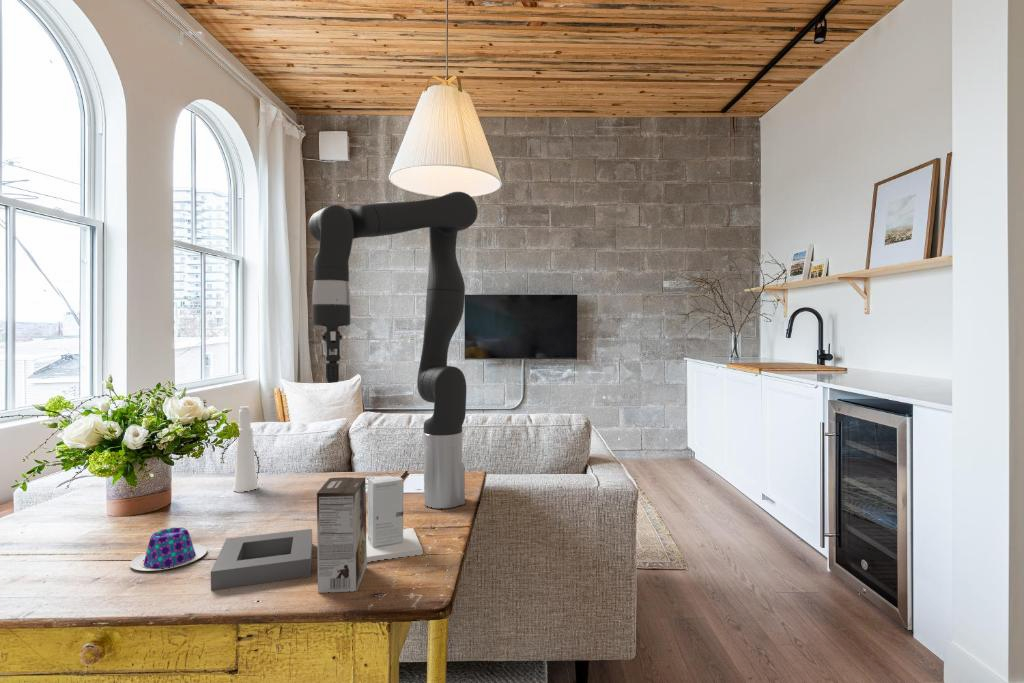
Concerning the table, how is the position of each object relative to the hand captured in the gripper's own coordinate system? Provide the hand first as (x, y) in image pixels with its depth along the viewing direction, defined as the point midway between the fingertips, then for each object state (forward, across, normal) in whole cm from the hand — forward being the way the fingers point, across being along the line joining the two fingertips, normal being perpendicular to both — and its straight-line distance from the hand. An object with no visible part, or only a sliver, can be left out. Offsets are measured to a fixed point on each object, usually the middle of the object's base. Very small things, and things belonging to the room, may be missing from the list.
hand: (332, 380), depth 114 cm
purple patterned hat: (+32, -5, +29) cm, 43 cm away
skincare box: (+30, -13, -9) cm, 34 cm away
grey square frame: (+31, -14, +12) cm, 36 cm away
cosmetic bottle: (+31, +40, +21) cm, 55 cm away
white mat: (+31, -14, -9) cm, 35 cm away
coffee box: (+32, -26, -1) cm, 41 cm away
